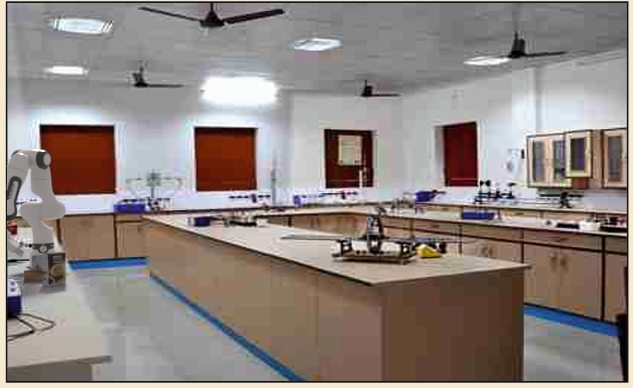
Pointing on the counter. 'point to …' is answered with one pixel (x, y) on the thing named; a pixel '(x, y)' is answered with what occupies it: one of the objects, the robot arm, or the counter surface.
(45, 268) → the coffee box
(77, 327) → the counter surface
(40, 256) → the grey upright block
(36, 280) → the brown wooden block
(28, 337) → the counter surface
